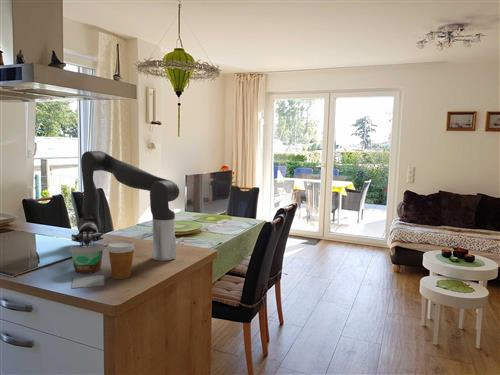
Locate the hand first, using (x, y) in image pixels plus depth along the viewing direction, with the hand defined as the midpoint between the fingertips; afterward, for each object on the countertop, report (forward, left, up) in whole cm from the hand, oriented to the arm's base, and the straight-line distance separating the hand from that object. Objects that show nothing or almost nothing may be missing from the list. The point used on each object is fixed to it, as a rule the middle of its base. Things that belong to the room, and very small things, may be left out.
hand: (87, 241), depth 148 cm
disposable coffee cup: (-12, +19, -9) cm, 24 cm away
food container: (0, +10, -9) cm, 14 cm away
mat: (-1, +22, -9) cm, 24 cm away
